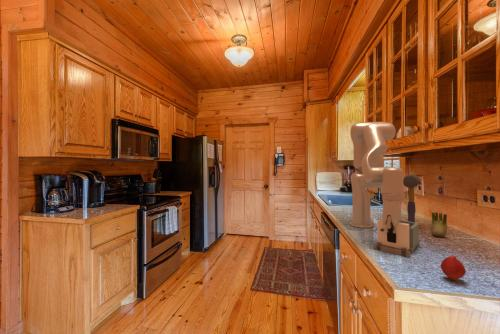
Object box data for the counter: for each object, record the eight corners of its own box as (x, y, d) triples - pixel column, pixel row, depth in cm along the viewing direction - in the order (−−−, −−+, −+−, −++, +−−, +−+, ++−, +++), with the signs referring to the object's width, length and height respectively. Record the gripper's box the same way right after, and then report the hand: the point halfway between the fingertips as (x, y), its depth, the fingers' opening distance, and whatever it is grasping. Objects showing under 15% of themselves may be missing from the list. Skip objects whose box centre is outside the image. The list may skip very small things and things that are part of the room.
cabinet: (386, 238, 112) (386, 218, 112) (418, 245, 103) (418, 223, 103) (373, 249, 100) (373, 225, 99) (409, 257, 90) (409, 232, 90)
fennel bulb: (448, 238, 112) (448, 213, 112) (440, 239, 111) (440, 214, 111) (436, 234, 118) (436, 211, 118) (428, 235, 117) (428, 211, 117)
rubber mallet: (418, 231, 124) (418, 175, 123) (401, 228, 129) (401, 174, 128) (420, 226, 133) (420, 174, 133) (405, 224, 138) (405, 173, 137)
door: (379, 242, 102) (379, 219, 102) (409, 248, 94) (409, 223, 94) (376, 244, 99) (376, 221, 99) (407, 251, 91) (407, 225, 91)
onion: (438, 279, 74) (438, 254, 74) (443, 273, 77) (443, 249, 77) (463, 286, 69) (463, 260, 69) (467, 280, 73) (467, 255, 72)
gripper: (388, 194, 105) (388, 234, 105) (376, 198, 94) (376, 243, 94) (407, 196, 100) (407, 238, 100) (397, 200, 88) (398, 248, 89)
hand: (392, 240), depth 97 cm, fingers closed on door, 3 cm apart
